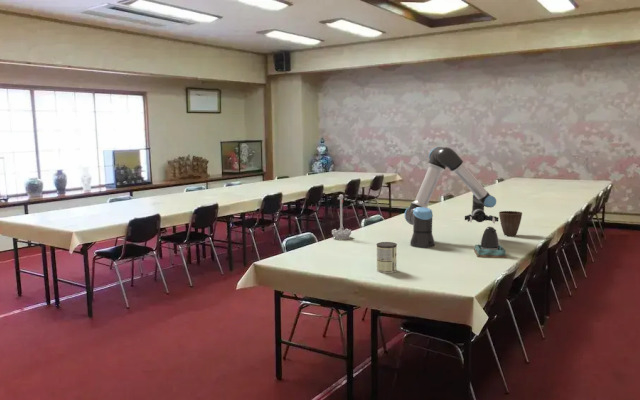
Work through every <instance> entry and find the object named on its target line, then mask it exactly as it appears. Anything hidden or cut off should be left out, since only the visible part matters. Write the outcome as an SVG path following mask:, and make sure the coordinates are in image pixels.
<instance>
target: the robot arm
mask: <svg viewBox="0 0 640 400" xmlns="http://www.w3.org/2000/svg"><path fill="white" fill-rule="evenodd" d="M428 158H429V159H428V162H427V166H428V168H427V171H426V173H425V176H424V179H423V180H422V183H421V185H420V188H419V190H418V192H417V194H416V197H415V199H414V201H411V203H410V205H409V207H407V208H406V209H405V211H404V219H405V221H406V222H407V223H408V224H409V225H411V226H413V230H412V231H413V233H412V236H411V239H410V246H411V247H414V248H433V247H435V244H436V242H435V239H434V235H433V216H434V215H433V211H432V209H430V208H428V204H429V202H430V200H431V197H432V196H433V193H434V191H435V187H436V186H437V183H438V180H440V179H439V178H440V176H441V174H442V172H445V170H446V168H448V169H449V170H450V172H453V173H455V175H456V176H457V177H458V179H460V181H461V182H462V183H463V184H464V185H465V186H466V187H467V188H468V189H469V191H470V192H471V193H472V205H471V206H472V207H471V208H472V209H471V214H470V213H469V214H467V215H465V216H464V221H467V222H470V223H473V221H476V222H477V223H482V222H484V221H486V222H487V221H489V222H492V223H493V224H496V222H499V220H500V217H499V216H498V217H497V216H495V215H488V214H486V213H485V207H486V208H489V209H490V208H494V207H495V206H497V205H496V204H497V199H496V197H495V196H493V195H491V194H490V193H489V192H488V190H487V189H486V188H485V187H484V186H483V185H482V183H481V182H480V181H479V180H478V179H477V178H476V177H475V176H474V175H473V173H472V172H471V171H470V170H469V169H468V167H467V166H466V165H464V160H463V159H462V158H461V157H460V156H459V155H458V154H457V152H456V151H455V150H454V149H452V148H450V147H446V146H437V147H433V149H431V150H430V152H429V155H428Z"/></svg>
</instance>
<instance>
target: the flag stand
mask: <svg viewBox="0 0 640 400" xmlns="http://www.w3.org/2000/svg"><path fill="white" fill-rule="evenodd" d="M338 198H339V213H340V214H339V215H340V216H339V219H340V221H339V222H340V223H339V226H340V227H339V228H338V230H337V229H336V228H334V229H332V230H331V235H332V236H333V239H334V240H338V239H345V240H348V239H349V240H350V238H351V237H350V235H352V229H348V228H345V229H343V203H344V200H343V199H344V195H343V194H339V196H338ZM334 237H335V238H336V239H335V238H334Z"/></svg>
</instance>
